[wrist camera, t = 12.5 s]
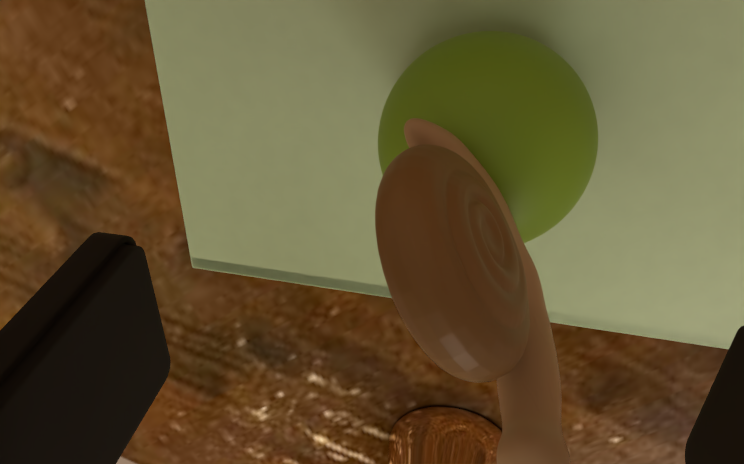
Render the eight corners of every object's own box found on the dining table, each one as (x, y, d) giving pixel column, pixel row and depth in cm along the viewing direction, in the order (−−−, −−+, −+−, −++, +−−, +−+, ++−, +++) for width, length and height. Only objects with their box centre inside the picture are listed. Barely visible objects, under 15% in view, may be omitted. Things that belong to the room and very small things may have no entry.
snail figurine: (471, 232, 21) (408, 601, 12) (364, 66, 19) (173, 354, 9) (637, 165, 19) (733, 563, 9) (537, -36, 16) (525, 211, 7)
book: (163, -204, 19) (107, -203, 17) (986, -189, 15) (1069, -185, 13) (223, 225, 27) (191, 268, 25) (763, 300, 24) (787, 358, 21)
